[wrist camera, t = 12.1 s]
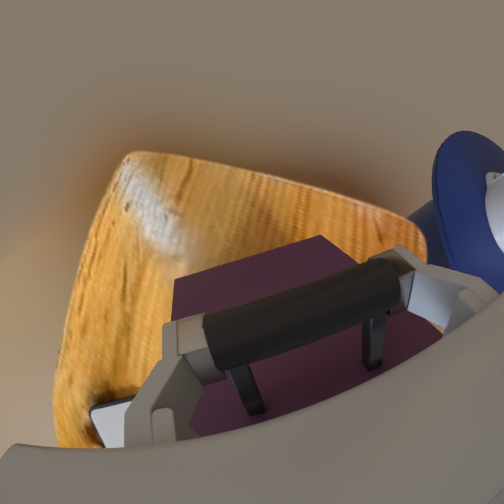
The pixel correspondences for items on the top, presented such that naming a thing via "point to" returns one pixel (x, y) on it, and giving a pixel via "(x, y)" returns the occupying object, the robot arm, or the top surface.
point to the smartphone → (110, 421)
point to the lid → (295, 330)
